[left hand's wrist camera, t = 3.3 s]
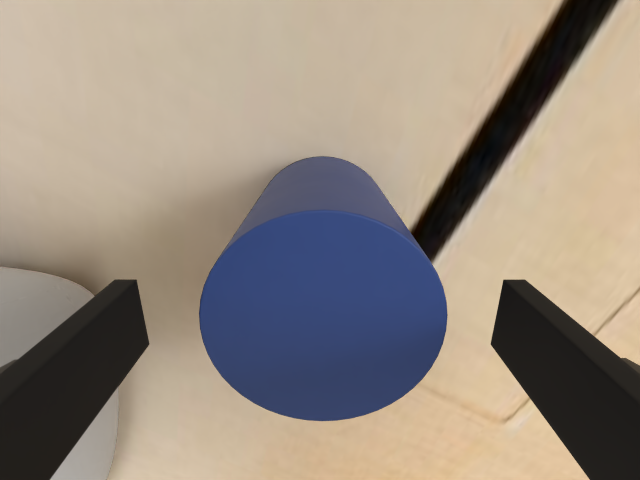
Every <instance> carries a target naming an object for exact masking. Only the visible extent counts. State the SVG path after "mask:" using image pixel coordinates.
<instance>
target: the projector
mask: <svg viewBox="0 0 640 480" xmlns="http://www.w3.org/2000/svg"><path fill="white" fill-rule="evenodd" d="M93 297H95V296H94V295H93V294H92V293H91V292H90V291H88V290H87V289H86V288H84V287H83V286H81V285H79V284H77V283H75V282H73V281H71V280H68V279H65V278H62V277H59V276H55V275H51V274H47V273H43V272H37V271H31V270H24V269H17V268H8V267H0V367H2V366H3V365H5V364H7V363H9V362H11V361H13V360H14V359H19V358H20V357H21V356H23V355H24V354H25V353H26V352H28V351H29V350H30V349H31V348H32V347H34V346H35V345H36V344H37V343H39V342H40V341H41V340H42V339H43V338H45V337H46V336H47V335H48V334H49V333H51V332H52V331H53V330H54V329H56V328H57V327H58V326H59V325H60V324H62V323H63V322H64V321H65V320H67V319H68V318H69V317H70V316H71V315H73V314H74V313H75V312H76V311H77V310H79V309H80V308H81V307H82V306H84V305H85V304H86V303H87V302H88V301H90V300H91V299H92V298H93ZM118 413H119V393H118V388H117V389H116V390H115V392H114V393H113V394H112V396H111V397H110V399H109V400H108V401H107V403H106V404H105V405H104V407H103V408H102V409H101V411H100V412H99V414H98V415H97V416H96V418H95V419H94V420H93V422H92V423H91V424H90V426H89V427H88V429H87V430H86V431H85V433H84V434H83V435H82V437H81V438H80V439H79V441H78V442H77V444H76V445H75V446H74V448H73V449H72V450H71V452H70V453H69V454H68V456H67V457H66V459H65V460H64V461H63V463H62V464H61V465H60V467H59V468H58V469H57V471H56V472H55V474H54V475H53V476H52V478H51V479H50V480H107V478H108V475H109V471H110V468H111V465H112V461H113V456H114V452H115V446H116V440H117V431H118Z"/></svg>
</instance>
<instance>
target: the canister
mask: <svg viewBox="0 0 640 480" xmlns="http://www.w3.org/2000/svg"><path fill="white" fill-rule="evenodd" d="M199 318H200V330H201V334H202V339H203V343H204V345H205V348H206V351H207V353H208V355H209V357H210V359H211V361H212V363H213V364H214V366H215V368H216V369H217V370H218V372H219V373H220V374H221V376H222V377H223V378H224V379H225V380H226V381H227V382H228V383H229V384H230V385H231V387H233V388H234V389H235V390H236V391H237V392H239V393H240V394H241V395H242V396H244V397H245V398H247V399H248V400H250V401H252V402H253V403H255V404H257V405H259V406H261V407H263V408H265V409H267V410H270V411H272V412H275V413H278V414H280V415H284V416H288V417H292V418H297V419H303V420H313V421H335V420H343V419H350V418H354V417H359V416H363V415H366V414H369V413H372V412H374V411H377V410H379V409H382V408H384V407H386V406H388V405H390V404H392V403H393V402H395V401H396V400H398V399H400V398H401V397H403V396H404V395H405V394H407V393H408V392H409V391H410V390H412V389H413V388H414V387H415V386H416V385H417V384H418V383H419V382H420V381H421V380H422V379H423V378H424V376H425V375H426V374H427V372H428V371H429V370H430V368H431V367H432V365H433V363H434V362H435V360H436V358H437V356H438V354H439V352H440V349H441V347H442V344H443V341H444V336H445V332H446V325H447V304H446V298H445V294H444V289H443V286H442V283H441V281H440V279H439V276H438V274H437V272H436V270H435V269H434V267H433V265H432V264H431V262H430V260H429V259H428V257H427V256H426V255H425V253H424V252H423V250H422V249H421V247H420V246H419V244H418V243H417V242H416V240H415V239H414V237H413V236H412V234H411V233H410V231H409V230H408V229H407V227H406V226H405V224H404V223H403V221H402V220H401V219H400V217H399V216H398V214H397V213H396V211H395V210H394V208H393V207H392V206H391V204H390V203H389V201H388V200H387V198H386V197H385V195H384V194H383V193H382V191H381V190H380V188H379V187H378V185H377V184H376V183H375V181H374V180H373V179H372V178H371V177H370V176H369V175H368V174H367V173H366V172H365V171H364V170H362V169H361V168H359V167H358V166H356V165H354V164H352V163H350V162H348V161H345V160H342V159H338V158H334V157H312V158H306V159H303V160H300V161H297V162H295V163H293V164H291V165H289V166H287V167H286V168H284V169H283V170H281V171H280V172H279V173H278V174H277V175H276V176H275V177H274V178H273V179H272V180H271V182H270V183H269V184H268V186H267V187H266V189H265V190H264V192H263V193H262V194H261V196H260V197H259V199H258V200H257V202H256V203H255V205H254V206H253V208H252V209H251V211H250V212H249V214H248V215H247V217H246V218H245V220H244V221H243V223H242V224H241V226H240V227H239V229H238V230H237V232H236V233H235V234H234V236H233V237H232V239H231V240H230V242H229V243H228V245H227V246H226V248H225V249H224V251H223V252H222V254H221V255H220V257H219V258H218V260H217V261H216V263H215V265H214V266H213V268H212V269H211V271H210V273H209V275H208V277H207V280H206V282H205V284H204V288H203V292H202V295H201V300H200V310H199Z"/></svg>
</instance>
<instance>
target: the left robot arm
mask: <svg viewBox="0 0 640 480" xmlns="http://www.w3.org/2000/svg"><path fill="white" fill-rule="evenodd" d="M148 345H149V340H148V335H147V330H146V325H145V320H144V315H143V310H142V305H141V300H140V295H139V290H138V285H137V280H114V281H113V282H112V283H110V284H109V285H108V286H107V287H106V288H104V289H103V290H102V291H101V292H99V293H98V294H97V295H96V296H95V297H93V298H92V299H91V300H90V301H88V302H87V303H86V304H85V305H84V306H82V307H81V308H80V309H79V310H77V311H76V312H75V313H74V314H73V315H71V316H70V317H69V318H68V319H67V320H65V321H64V322H63V323H62V324H60V325H59V326H58V327H57V328H56V329H54V330H53V331H52V332H51V333H49V334H48V335H47V336H46V337H45V338H43V339H42V340H41V341H40V342H39V343H37V344H36V345H35V346H34V347H32V348H31V349H30V350H29V351H28V352H26V353H25V354H24V355H23V356H21V357H20V358H19V359H14V360H13V361H11V362H9V363H7V364H5V365H3V366H2V367H0V480H50V479H51V478H52V476H53V475H54V474H55V472H56V471H57V469H58V468H59V467H60V465H61V464H62V463H63V461H64V460H65V459H66V457H67V456H68V454H69V453H70V452H71V450H72V449H73V448H74V446H75V445H76V444H77V442H78V441H79V439H80V438H81V437H82V435H83V434H84V433H85V431H86V430H87V429H88V427H89V426H90V424H91V423H92V422H93V420H94V419H95V418H96V416H97V415H98V414H99V412H100V411H101V409H102V408H103V407H104V405H105V404H106V403H107V401H108V400H109V399H110V397H111V396H112V394H113V393H114V392H115V390H116V389H117V388H118V386H119V385H120V384H121V382H122V381H123V379H124V378H125V377H126V375H127V374H128V373H129V371H130V370H131V369H132V367H133V366H134V364H135V363H136V362H137V360H138V359H139V358H140V356H141V355H142V354H143V352H144V351H145V349H146V348H147V347H148ZM491 345H492V347H493V348H494V349H495V351H496V352H497V354H498V355H499V356H500V358H501V359H502V360H503V362H504V363H505V364H506V366H507V367H508V369H509V370H510V371H511V373H512V374H513V375H514V377H515V378H516V379H517V381H518V382H519V384H520V385H521V386H522V388H523V389H524V390H525V392H526V393H527V394H528V396H529V397H530V399H531V400H532V401H533V403H534V404H535V405H536V407H537V408H538V409H539V411H540V412H541V414H542V415H543V416H544V418H545V419H546V420H547V422H548V423H549V424H550V426H551V427H552V429H553V430H554V431H555V433H556V434H557V435H558V437H559V438H560V439H561V441H562V442H563V444H564V445H565V446H566V448H567V449H568V450H569V452H570V453H571V454H572V456H573V457H574V459H575V460H576V461H577V463H578V464H579V465H580V467H581V468H582V469H583V471H584V472H585V474H586V475H587V476H588V478H589V479H590V480H640V366H639V365H638V364H636V363H634V362H632V361H630V360H628V359H626V358H620V357H619V356H617V355H616V354H615V353H614V352H612V351H611V350H610V349H609V348H608V347H606V346H605V345H604V344H603V343H601V342H600V341H599V340H598V339H597V338H595V337H594V336H593V335H592V334H591V333H589V332H588V331H587V330H586V329H584V328H583V327H582V326H581V325H580V324H578V323H577V322H576V321H575V320H573V319H572V318H571V317H570V316H569V315H567V314H566V313H565V312H564V311H562V310H561V309H560V308H559V307H558V306H556V305H555V304H554V303H553V302H552V301H550V300H549V299H548V298H547V297H545V296H544V295H543V294H542V293H541V292H539V291H538V290H537V289H536V288H534V287H533V286H532V285H531V284H530V283H528V282H527V281H526V280H503V285H502V290H501V295H500V300H499V305H498V310H497V315H496V320H495V325H494V330H493V335H492V340H491Z"/></svg>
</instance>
